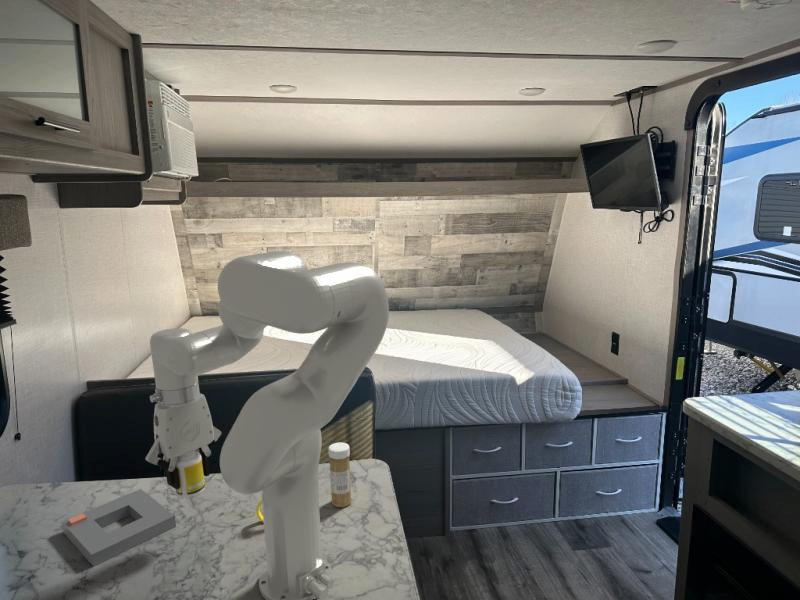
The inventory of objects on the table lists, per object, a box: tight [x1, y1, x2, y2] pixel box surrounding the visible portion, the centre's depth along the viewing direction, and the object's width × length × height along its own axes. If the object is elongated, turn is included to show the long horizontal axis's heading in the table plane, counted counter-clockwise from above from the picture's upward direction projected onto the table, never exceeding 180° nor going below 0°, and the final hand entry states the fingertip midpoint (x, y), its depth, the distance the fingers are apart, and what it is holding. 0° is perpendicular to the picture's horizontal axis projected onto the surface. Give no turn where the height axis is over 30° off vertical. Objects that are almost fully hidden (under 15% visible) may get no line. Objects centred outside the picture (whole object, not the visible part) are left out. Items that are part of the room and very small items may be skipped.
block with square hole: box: [61, 488, 177, 567], centre depth 112 cm, size 16×16×3 cm
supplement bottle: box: [175, 449, 206, 499], centre depth 107 cm, size 5×5×10 cm
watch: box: [256, 499, 264, 523], centre depth 114 cm, size 6×3×6 cm, turn 92°
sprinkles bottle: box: [327, 442, 352, 508], centre depth 119 cm, size 5×5×13 cm
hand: (189, 479), depth 108 cm, fingers closed on supplement bottle, 5 cm apart
